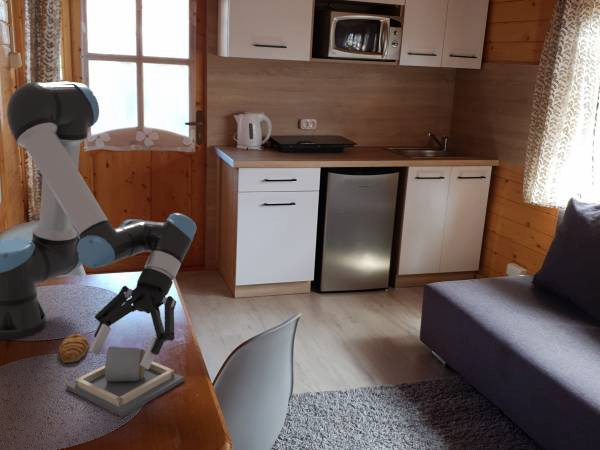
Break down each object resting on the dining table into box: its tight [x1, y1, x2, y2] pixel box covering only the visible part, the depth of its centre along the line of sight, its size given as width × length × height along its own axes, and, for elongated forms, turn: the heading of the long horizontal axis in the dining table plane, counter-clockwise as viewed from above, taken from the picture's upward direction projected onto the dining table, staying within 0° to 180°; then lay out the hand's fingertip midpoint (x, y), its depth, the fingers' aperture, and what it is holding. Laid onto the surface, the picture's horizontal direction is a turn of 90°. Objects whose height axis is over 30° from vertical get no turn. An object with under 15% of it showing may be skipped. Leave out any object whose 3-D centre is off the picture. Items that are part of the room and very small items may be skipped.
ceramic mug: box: [104, 345, 146, 382], centre depth 136 cm, size 11×8×8 cm
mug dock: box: [65, 360, 185, 418], centre depth 135 cm, size 18×18×2 cm
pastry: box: [58, 334, 90, 364], centre depth 147 cm, size 9×7×4 cm
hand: (118, 360), depth 131 cm, fingers open, 13 cm apart
